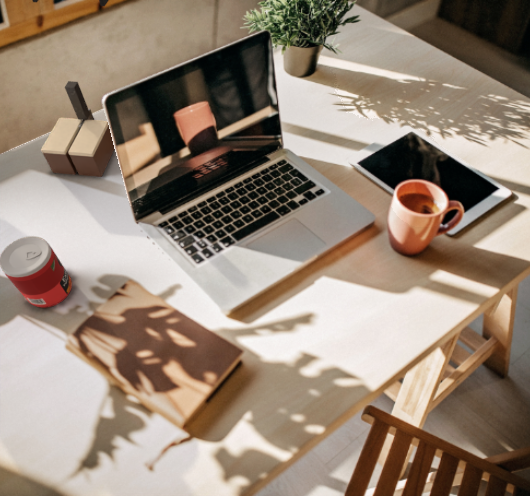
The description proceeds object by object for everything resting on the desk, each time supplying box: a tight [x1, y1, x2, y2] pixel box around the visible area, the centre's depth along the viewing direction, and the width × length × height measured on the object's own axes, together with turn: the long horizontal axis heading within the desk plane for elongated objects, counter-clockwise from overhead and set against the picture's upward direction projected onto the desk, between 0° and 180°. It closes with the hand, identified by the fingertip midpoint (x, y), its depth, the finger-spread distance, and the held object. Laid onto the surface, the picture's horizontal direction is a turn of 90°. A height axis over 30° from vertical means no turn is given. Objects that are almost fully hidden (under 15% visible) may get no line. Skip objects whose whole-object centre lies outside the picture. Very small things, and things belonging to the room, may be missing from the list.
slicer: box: [64, 80, 95, 129], centre depth 104 cm, size 6×2×14 cm, turn 172°
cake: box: [40, 117, 115, 178], centre depth 104 cm, size 10×11×7 cm
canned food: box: [0, 235, 73, 309], centre depth 83 cm, size 8×8×11 cm
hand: (71, 0), depth 93 cm, fingers open, 13 cm apart
